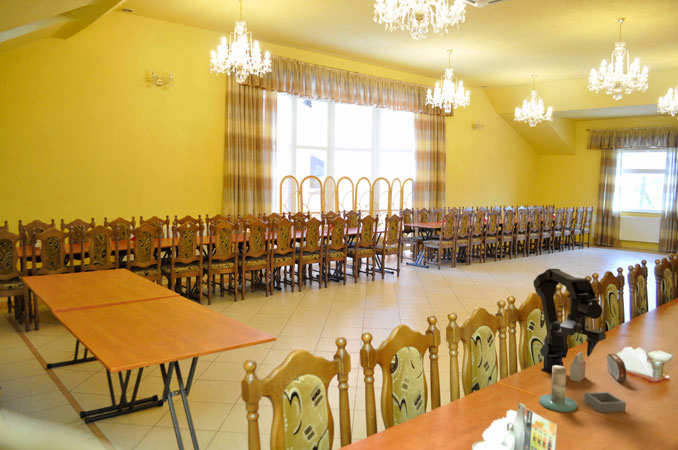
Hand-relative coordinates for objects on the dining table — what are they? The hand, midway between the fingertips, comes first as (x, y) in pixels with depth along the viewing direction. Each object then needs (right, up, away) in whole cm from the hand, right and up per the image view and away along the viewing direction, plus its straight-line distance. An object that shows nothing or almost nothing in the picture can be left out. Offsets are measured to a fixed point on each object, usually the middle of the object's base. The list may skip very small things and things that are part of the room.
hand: (576, 353), depth 189 cm
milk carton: (+5, -13, +9) cm, 17 cm away
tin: (+21, -13, +11) cm, 27 cm away
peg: (-13, -13, -15) cm, 24 cm away
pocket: (+2, -14, -16) cm, 21 cm away
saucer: (-13, -14, -15) cm, 24 cm away
